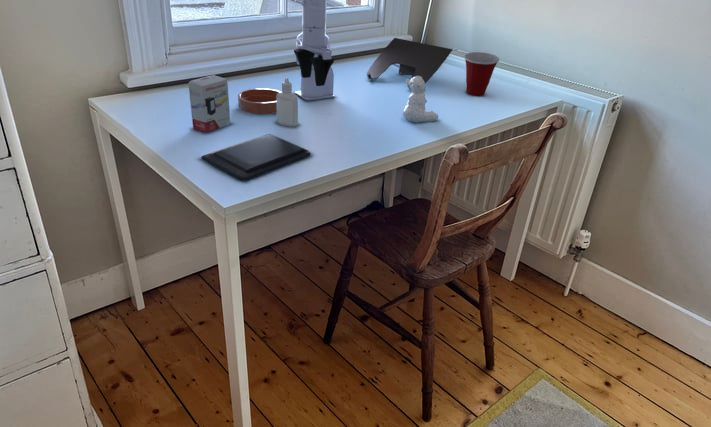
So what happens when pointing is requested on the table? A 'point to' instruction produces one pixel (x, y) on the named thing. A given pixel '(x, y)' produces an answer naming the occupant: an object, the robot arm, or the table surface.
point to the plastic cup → (479, 71)
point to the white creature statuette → (417, 102)
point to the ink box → (209, 103)
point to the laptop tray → (410, 59)
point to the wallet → (256, 156)
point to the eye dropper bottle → (287, 105)
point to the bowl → (258, 101)
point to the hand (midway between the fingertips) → (313, 81)
